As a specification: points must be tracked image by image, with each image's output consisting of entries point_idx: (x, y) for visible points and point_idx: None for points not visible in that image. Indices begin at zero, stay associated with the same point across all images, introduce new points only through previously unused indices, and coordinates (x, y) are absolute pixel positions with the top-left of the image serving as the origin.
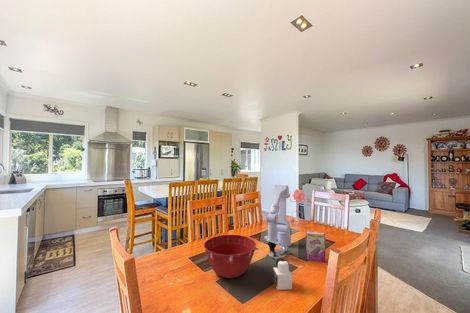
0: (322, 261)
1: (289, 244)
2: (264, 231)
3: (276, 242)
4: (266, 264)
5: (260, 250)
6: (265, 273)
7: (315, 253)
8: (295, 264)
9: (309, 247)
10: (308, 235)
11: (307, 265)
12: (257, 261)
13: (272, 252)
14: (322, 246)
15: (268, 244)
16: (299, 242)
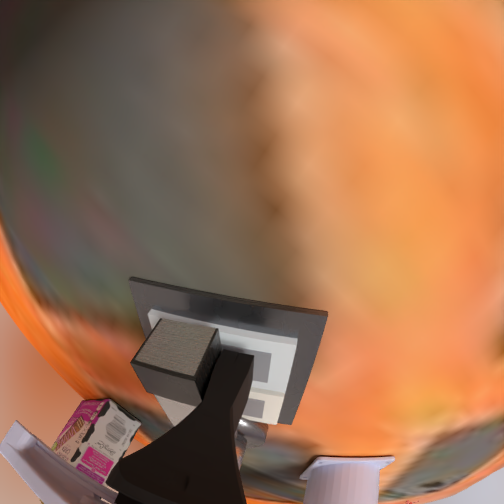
0: (83, 402)
1: (309, 478)
2: (494, 455)
3: (19, 474)
4: (94, 114)
5: (461, 347)
6: (18, 35)
7: (73, 426)
8: (65, 329)
9: (69, 449)
10: None
11: (59, 352)
12: (228, 34)
13: (154, 361)
14: (52, 449)
15: (208, 492)
16: (298, 487)
